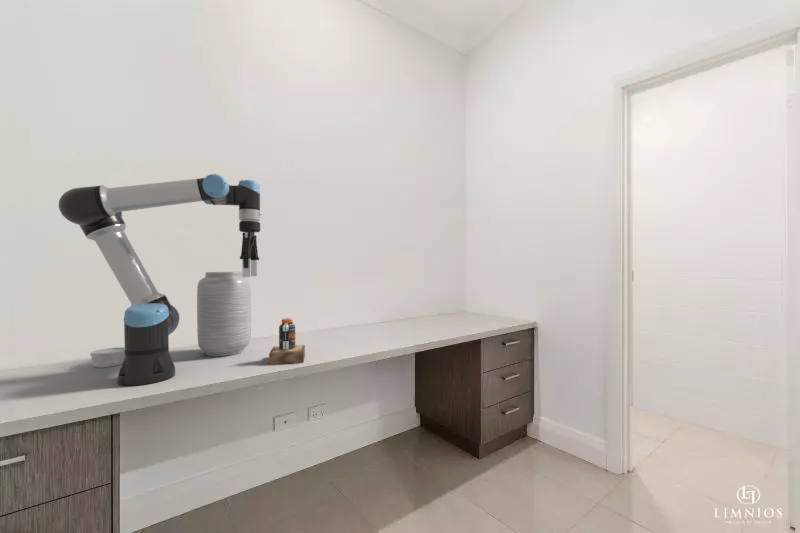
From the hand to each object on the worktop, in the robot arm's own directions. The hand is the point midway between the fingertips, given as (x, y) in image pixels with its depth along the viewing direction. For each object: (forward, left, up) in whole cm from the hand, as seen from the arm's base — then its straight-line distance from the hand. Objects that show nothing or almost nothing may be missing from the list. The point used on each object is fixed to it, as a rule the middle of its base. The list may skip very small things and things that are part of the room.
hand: (250, 276), depth 141 cm
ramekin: (-50, +5, -32) cm, 60 cm away
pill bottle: (+14, -4, -28) cm, 31 cm away
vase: (-13, +15, -32) cm, 38 cm away
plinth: (+14, -4, -32) cm, 35 cm away
